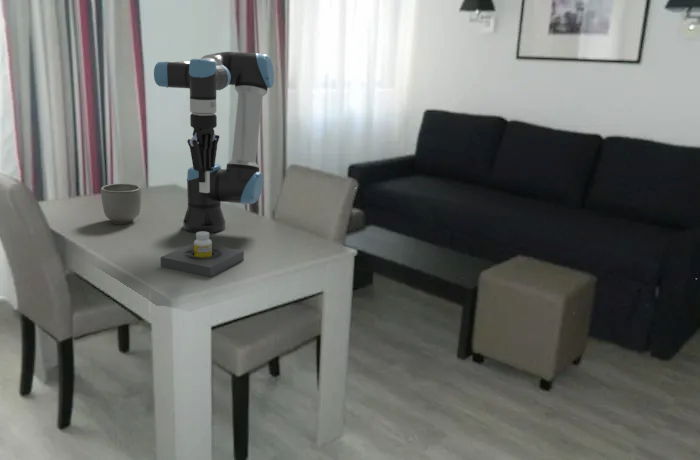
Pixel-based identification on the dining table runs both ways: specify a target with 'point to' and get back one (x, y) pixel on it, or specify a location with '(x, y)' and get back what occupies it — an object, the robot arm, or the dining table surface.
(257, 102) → the robot arm
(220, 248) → the holder plate
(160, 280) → the dining table surface
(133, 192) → the planter
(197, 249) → the supplement bottle
